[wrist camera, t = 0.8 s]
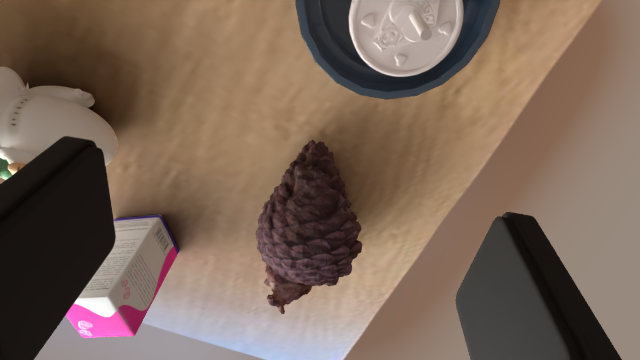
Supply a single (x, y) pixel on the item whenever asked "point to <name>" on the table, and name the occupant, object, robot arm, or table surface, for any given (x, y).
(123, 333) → the supplement box
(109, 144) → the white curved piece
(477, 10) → the dish
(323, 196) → the pine cone
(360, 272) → the table surface
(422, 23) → the smoothie
